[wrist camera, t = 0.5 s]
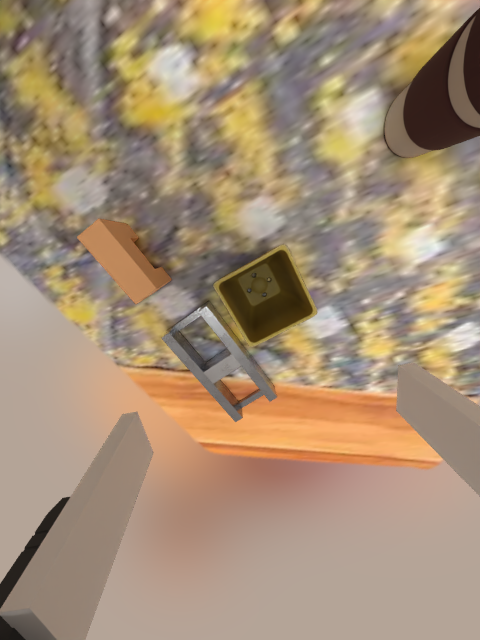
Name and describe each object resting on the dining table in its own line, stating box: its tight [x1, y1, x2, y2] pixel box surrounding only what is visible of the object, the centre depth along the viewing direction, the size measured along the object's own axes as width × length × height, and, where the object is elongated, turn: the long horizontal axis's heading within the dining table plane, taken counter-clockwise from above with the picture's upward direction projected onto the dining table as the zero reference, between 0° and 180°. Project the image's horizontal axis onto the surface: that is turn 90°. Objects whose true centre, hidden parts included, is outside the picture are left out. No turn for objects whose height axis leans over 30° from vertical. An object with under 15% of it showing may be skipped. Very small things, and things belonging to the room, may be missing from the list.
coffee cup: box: [385, 8, 480, 158], centre depth 21 cm, size 10×10×15 cm
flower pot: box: [213, 244, 317, 347], centre depth 30 cm, size 9×9×9 cm
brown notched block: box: [77, 219, 172, 304], centre depth 29 cm, size 9×3×7 cm, turn 35°
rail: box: [162, 301, 277, 422], centre depth 36 cm, size 18×8×3 cm, turn 35°
